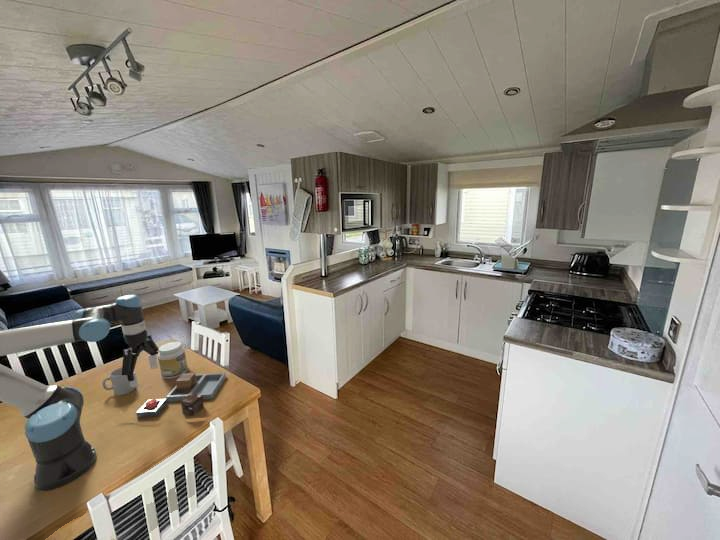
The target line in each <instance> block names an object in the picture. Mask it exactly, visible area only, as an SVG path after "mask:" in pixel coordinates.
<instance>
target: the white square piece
mask: <svg viewBox="0 0 720 540" xmlns="http://www.w3.org/2000/svg"><path fill="white" fill-rule="evenodd" d="M150 400H152V398H151V399H148V400H146V402H144V403H143V405H141V407H140V408H139V409H138V410H137V411H136V413H135V414H136V418H137V419H141V418H142V419H143V418H157V417H158V416H159V415H160V414H161V412H162V411H163V410H164V409H165V408H166V407H167V405H168V402H167V399H166V398H156V400H157V404H158V405H157V406H156V407H155V409H147V408H146V403H147V402H148V401H150Z"/></svg>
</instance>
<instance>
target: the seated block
mask: <svg viewBox="0 0 720 540" xmlns="http://www.w3.org/2000/svg"><path fill="white" fill-rule="evenodd" d="M175 382H176V383H175V384H176V385H177V389H178V394H179V393H190V391H191V390H192V389H193V388H194V386H195V385H196V384H197V381H196V373H195V372H188V373H186V372H185V373H184V374H182V375H180V376H178V378H177V379H176V381H175Z"/></svg>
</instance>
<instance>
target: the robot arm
mask: <svg viewBox="0 0 720 540" xmlns="http://www.w3.org/2000/svg"><path fill="white" fill-rule="evenodd" d="M119 322H120V324H121V330H122V334H123V338H124V342H125V343H126V344H127V345H128V348H127V349H123V350H122V365H121V367H122V374H121V375H127V378H128V381H129V383H130V387H136V388H138V387H139V385H140V384H139V381H138V375H137V372H136V371H135V369H136V364H137V360H138V357H140V354H141V353H142V352H143V351H144V352H145V353H146V354H148V361H149V366H150V369H152V370H153V369H155V370H156V369H158V368H159V365H158V364H159V363H158V361H157V360H158V357H157V355H158V354H159V348H160V347H158V346H157V344H156V343H155V341H154V339H153V338H152V335H151V334H148V331H147V326H146V322H145V317H144V311H143V305H142V302H141V298H140V296H139V295H137V294H127V295H126V294H125V295H123V296H122V295H121V296H118V297H117V298H116V299H115V302H114V303H110V304H105V305H97V306H92V307H86V308H83V309H78V310H76V311H74V319H69V320H63V321H57V322H51V323H50V322H49V323H43V324H37V325H30V326H25V327H24V326H23V327H19V328H16V327H15V328H10V329H4V330H0V357H4V356H9V355H13V354H19V353H22V352H23V353H24V352H29V351H34V350H35V351H36V350H39V349H44V348H49V347H57V346H59V345H64V344H71V343H77V342H81V341H84V342H88V343H95V342H96V343H97V342H100V341H102V340H103V339H105V338H106V337H107V336H108V334H109V333H110V330H111V324H113V323H119ZM130 370H131V371H130ZM0 402H2V403H4V404H5V405H6V404H7V405H9V406H11V407H14V408H16V409H19V410H21V411H20V417H22V418H26V419H27V421H26V422H25V425H24V435H25V438H26V439H27V441H28V443H29V446H30V449H31V451H32V455H33V456H34V460H35V463H36V465H35V466H36V467H35V474H34V476H33V483H34V486H35V488H36V489H37V490H39V491H51V490H55V489H57V488H61V487H62V486H65V485H67V484H69V483H71V482H73V481H74V480H76V479H78V478H79V477H80V476H82V475H83V474H84V473H86V472H87V471H88V470H89V469H90V468H91V467H92V466H93V465H94V463H95V462H96V460H97V452H96V449H95V447H93V446H92V445H91V444H90V443H89V442H88V441H87V440H86V439H85V437H84V433H83V430H82V427H81V418H82V411H83V407H84V402H85V401H84V396H83V393H82V392H81V391H80V390H79V389H78V388H76V387H73V386H60V385H58V384H52V385H51V384H50V385H46V384H44V383H41V382H40V381H37V380H35V379H33V378H31V377H29V376H26V375H24V374H22V373H20V372H19V371H16V370H15V369H11V368H9V367H8V366H5V365H3V364H1V363H0Z"/></svg>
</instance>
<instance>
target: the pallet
mask: <svg viewBox="0 0 720 540" xmlns="http://www.w3.org/2000/svg"><path fill="white" fill-rule="evenodd" d="M195 375H196V381H197V384H196V385H195V386H194V388H193V389H192V390H191V391H190V393H179V394H178V389H177V384H176V385H175V386H174V387H173V388H172V389H171V391H170V392H169V393H168V394H167V395H166V396H165V399H167V403H168V402H181V401H182V400H183V399H184V398H186V397H187V396H188V395H190V394H191V393H194V394H199V395H202V398H203V401H205V400H213V399H214V398H215V396H216V394H217V393H218V391H219V390H220V388H221V386H222V385H223V383H224V382H225V380H226V379H227V373H226V372H219V373H217V372H216V373H199V374H196V373H195Z"/></svg>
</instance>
